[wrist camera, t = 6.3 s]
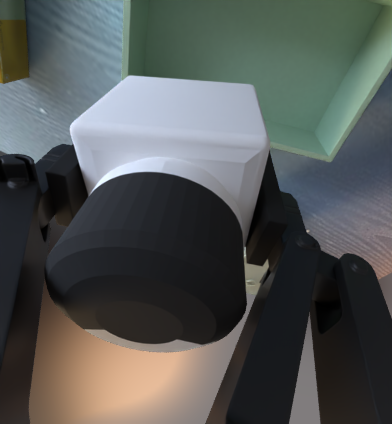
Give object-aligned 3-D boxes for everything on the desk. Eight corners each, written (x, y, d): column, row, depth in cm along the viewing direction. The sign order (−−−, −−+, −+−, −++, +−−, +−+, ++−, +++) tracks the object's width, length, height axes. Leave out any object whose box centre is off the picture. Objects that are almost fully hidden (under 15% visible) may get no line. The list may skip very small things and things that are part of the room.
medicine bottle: (126, 73, 14) (-57, 219, 5) (256, 83, 14) (310, 256, 5) (139, 181, 19) (55, 358, 10) (236, 190, 18) (245, 381, 9)
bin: (138, 90, 30) (120, 109, 25) (148, -76, 21) (125, -96, 16) (315, 136, 31) (331, 162, 26) (392, -2, 23) (436, 0, 18)
